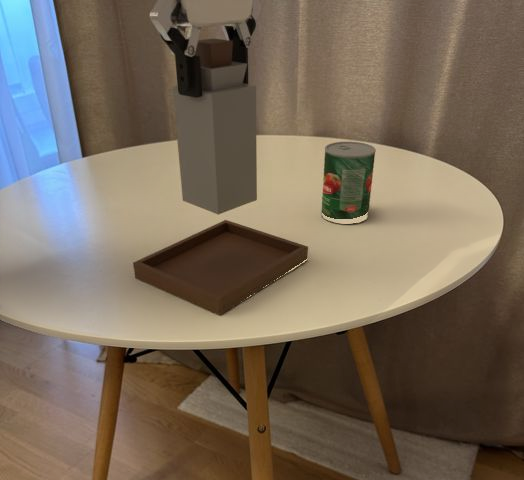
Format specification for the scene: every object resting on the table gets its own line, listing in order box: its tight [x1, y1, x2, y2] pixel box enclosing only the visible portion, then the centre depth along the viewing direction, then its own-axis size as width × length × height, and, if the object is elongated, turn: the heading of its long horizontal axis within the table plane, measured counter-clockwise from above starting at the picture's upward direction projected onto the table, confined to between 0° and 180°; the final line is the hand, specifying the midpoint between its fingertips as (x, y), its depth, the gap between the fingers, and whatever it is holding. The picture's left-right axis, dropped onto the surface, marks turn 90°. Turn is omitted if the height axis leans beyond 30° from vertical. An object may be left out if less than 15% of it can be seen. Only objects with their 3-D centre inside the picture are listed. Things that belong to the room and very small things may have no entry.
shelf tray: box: [132, 219, 309, 316], centre depth 76 cm, size 19×16×2 cm
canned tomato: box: [321, 141, 377, 219], centre depth 89 cm, size 8×8×11 cm
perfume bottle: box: [172, 37, 258, 215], centre depth 65 cm, size 7×7×18 cm
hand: (214, 88), depth 63 cm, fingers closed on perfume bottle, 7 cm apart
